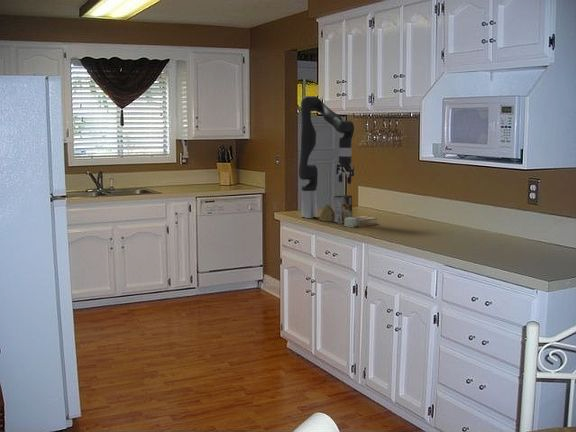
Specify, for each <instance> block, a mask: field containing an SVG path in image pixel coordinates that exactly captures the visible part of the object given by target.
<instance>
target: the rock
mask: <svg viewBox="0 0 576 432" xmlns="http://www.w3.org/2000/svg"><path fill="white" fill-rule="evenodd" d="M319 220H324V221H323V222H335V210H333V208H332V207H331V205H329V204H325V206H324V207H323V209H322V211H321V213H320V215H319V219H318V221H319Z"/></svg>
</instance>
